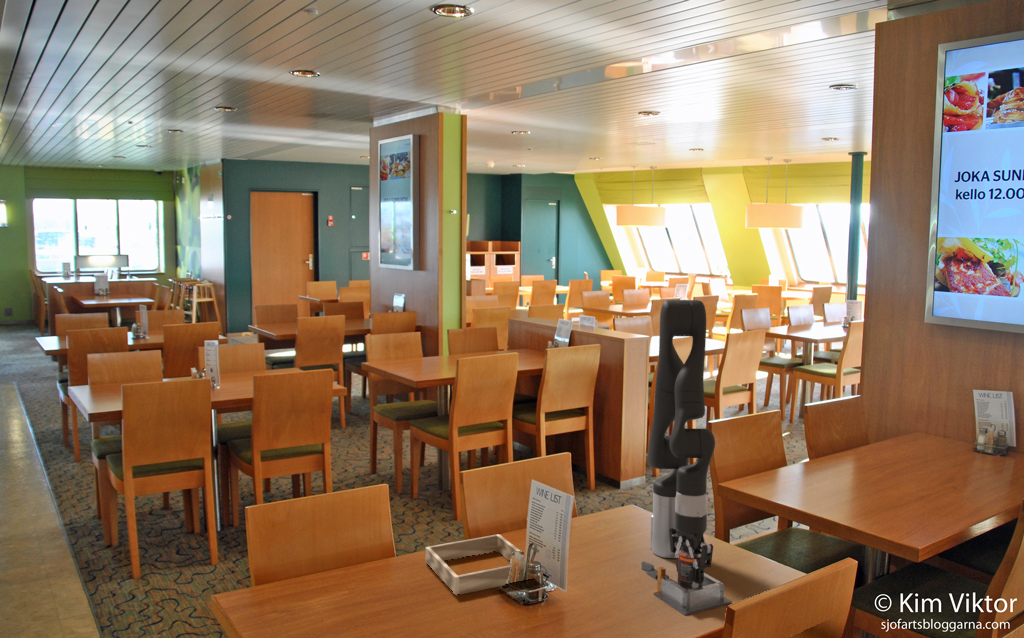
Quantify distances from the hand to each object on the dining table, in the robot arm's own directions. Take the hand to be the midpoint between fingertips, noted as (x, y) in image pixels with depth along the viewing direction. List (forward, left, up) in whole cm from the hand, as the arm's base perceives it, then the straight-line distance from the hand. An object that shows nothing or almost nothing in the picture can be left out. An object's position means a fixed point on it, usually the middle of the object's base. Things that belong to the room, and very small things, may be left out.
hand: (689, 577), depth 184 cm
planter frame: (-37, -40, -5) cm, 55 cm away
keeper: (0, 0, -5) cm, 5 cm away
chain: (-12, 0, -5) cm, 13 cm away
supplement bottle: (0, 0, -3) cm, 3 cm away
